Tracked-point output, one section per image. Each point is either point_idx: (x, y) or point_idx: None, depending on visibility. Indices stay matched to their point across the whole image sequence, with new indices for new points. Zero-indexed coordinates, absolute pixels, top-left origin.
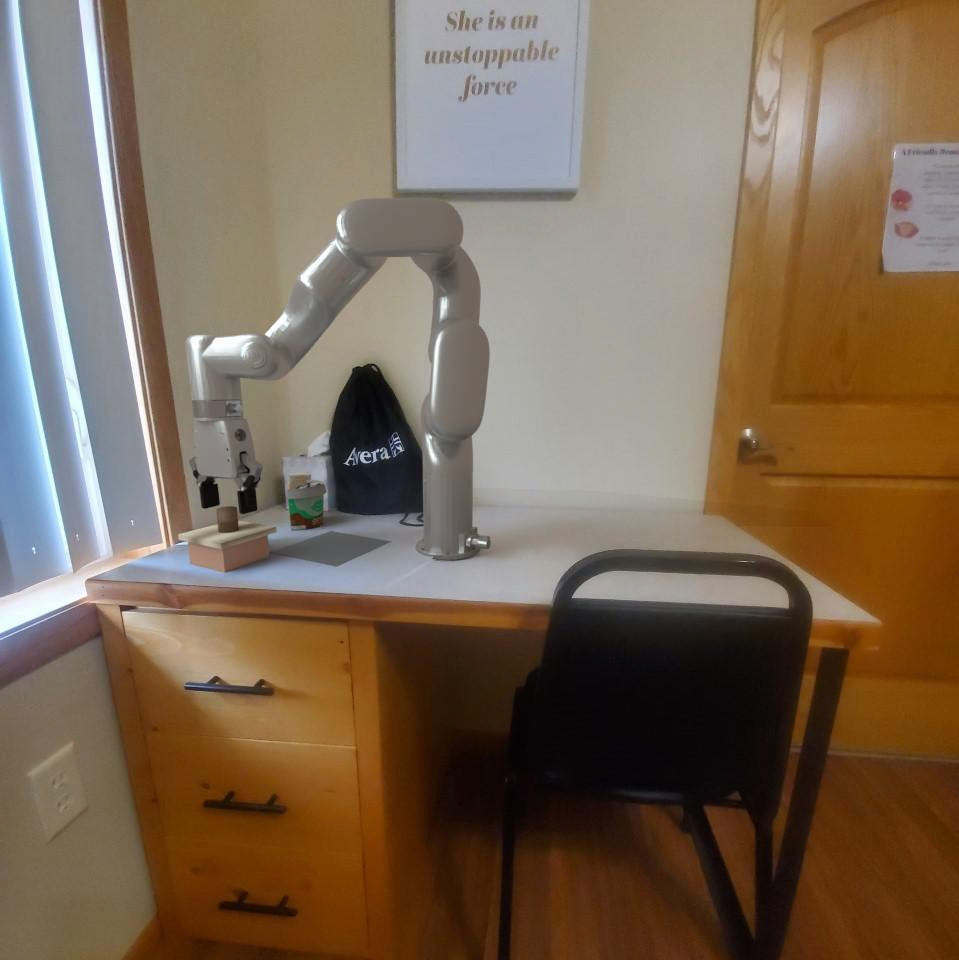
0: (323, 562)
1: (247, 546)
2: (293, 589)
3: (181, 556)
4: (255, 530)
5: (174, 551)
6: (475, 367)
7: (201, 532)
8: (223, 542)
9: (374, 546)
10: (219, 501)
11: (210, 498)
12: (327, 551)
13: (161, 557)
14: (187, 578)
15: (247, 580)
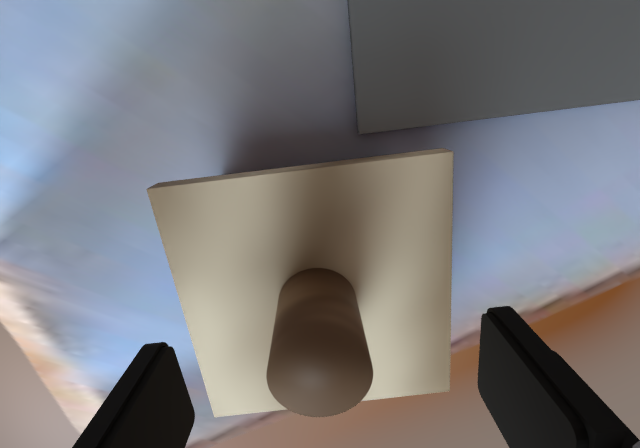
0: (617, 93)
1: None
2: (632, 261)
3: (133, 294)
4: (418, 243)
5: (61, 285)
6: None
7: (258, 369)
8: (448, 383)
9: None
10: (164, 359)
11: (166, 433)
12: None
13: (100, 327)
14: None
15: (476, 290)
